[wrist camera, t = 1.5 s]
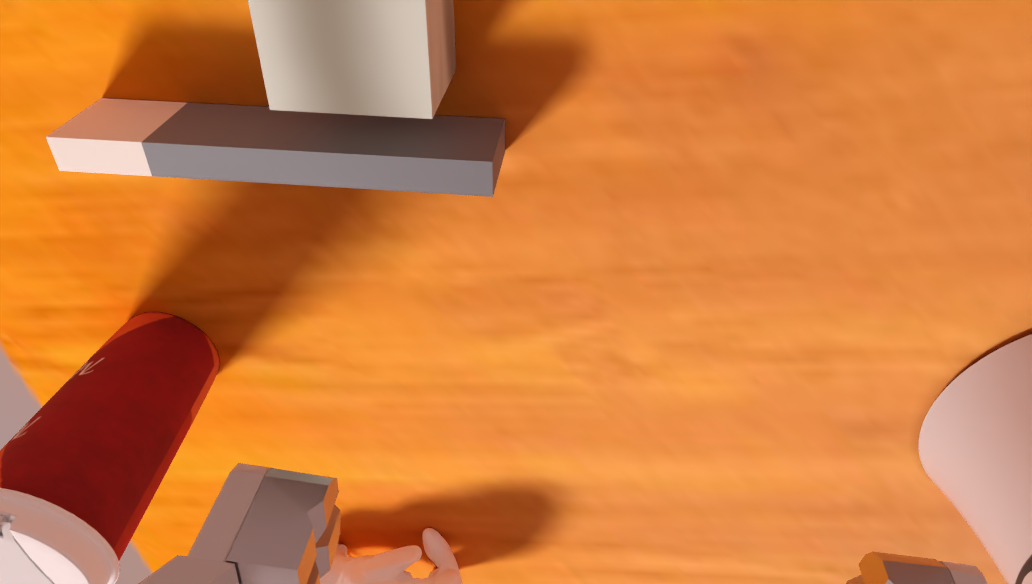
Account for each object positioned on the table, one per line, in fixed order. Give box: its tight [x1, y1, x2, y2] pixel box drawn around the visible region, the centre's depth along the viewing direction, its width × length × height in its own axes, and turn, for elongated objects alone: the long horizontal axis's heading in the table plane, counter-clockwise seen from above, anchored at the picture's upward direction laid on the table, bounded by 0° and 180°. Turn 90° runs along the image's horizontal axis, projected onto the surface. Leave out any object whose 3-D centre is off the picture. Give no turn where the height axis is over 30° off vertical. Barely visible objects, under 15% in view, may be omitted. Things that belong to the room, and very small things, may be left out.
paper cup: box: [0, 312, 219, 584], centre depth 36 cm, size 8×8×14 cm
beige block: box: [248, 0, 456, 119], centre depth 27 cm, size 6×6×5 cm
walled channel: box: [46, 98, 505, 197], centre depth 28 cm, size 18×13×4 cm
